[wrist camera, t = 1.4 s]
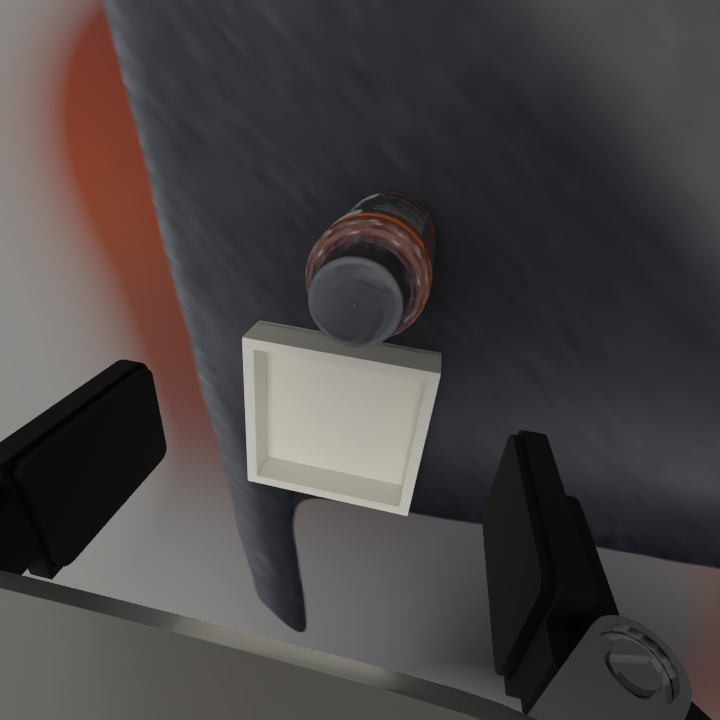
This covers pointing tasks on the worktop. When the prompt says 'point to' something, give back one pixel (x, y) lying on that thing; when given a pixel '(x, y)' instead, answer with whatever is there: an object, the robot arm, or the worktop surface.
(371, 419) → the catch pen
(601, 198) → the worktop surface
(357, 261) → the supplement bottle
